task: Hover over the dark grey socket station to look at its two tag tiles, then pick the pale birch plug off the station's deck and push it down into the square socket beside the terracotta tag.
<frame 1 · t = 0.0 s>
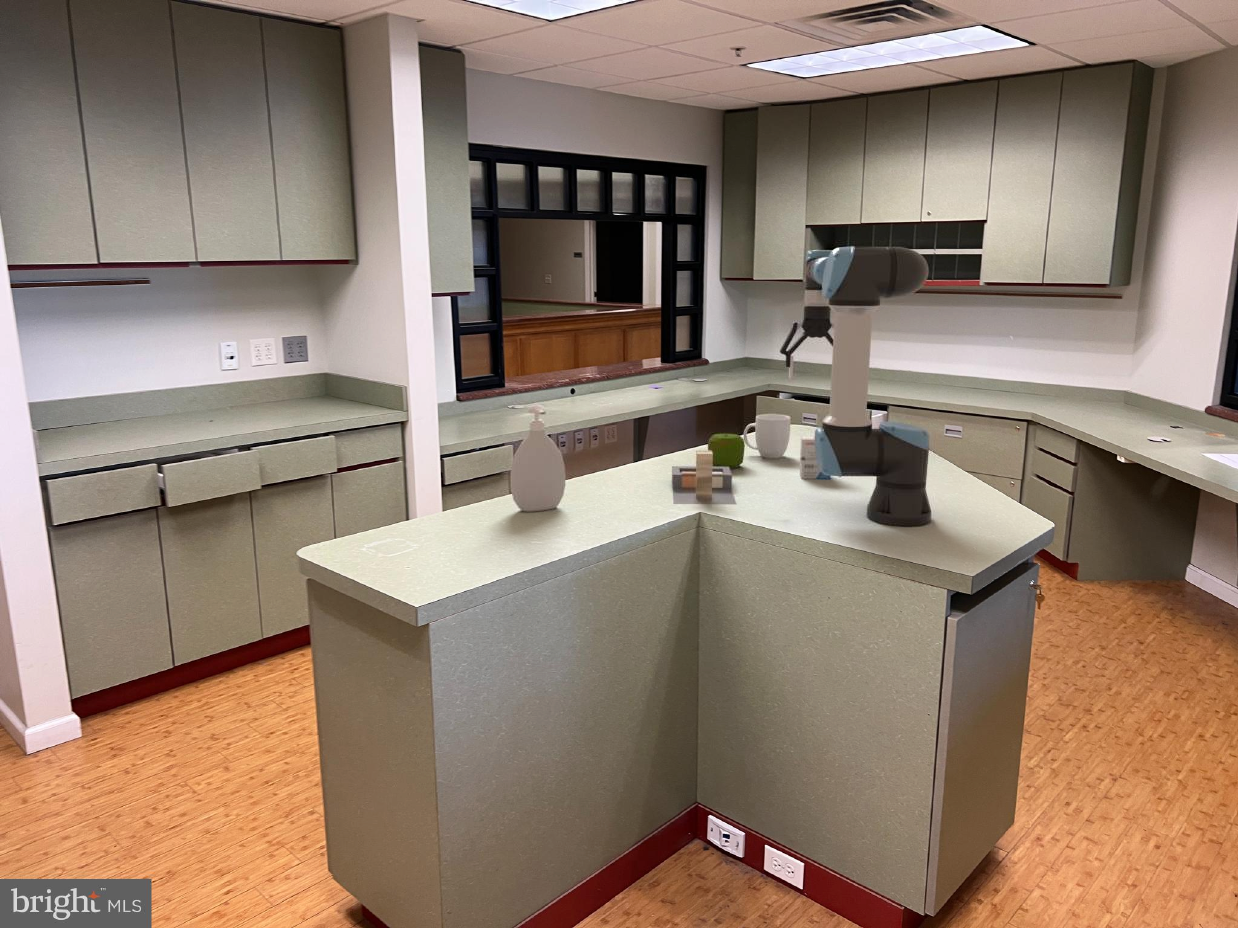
hand: (813, 378, 258), 28 cm above the countertop, fingers open, 13 cm apart
birch plug: (703, 496, 231), point 1 cm above the countertop, touching socket station
ink box: (814, 477, 257), on the countertop
soap bottle: (539, 510, 223), on the countertop
mug: (768, 456, 285), on the countertop
socket station: (702, 495, 237), on the countertop
apple: (725, 467, 271), on the countertop
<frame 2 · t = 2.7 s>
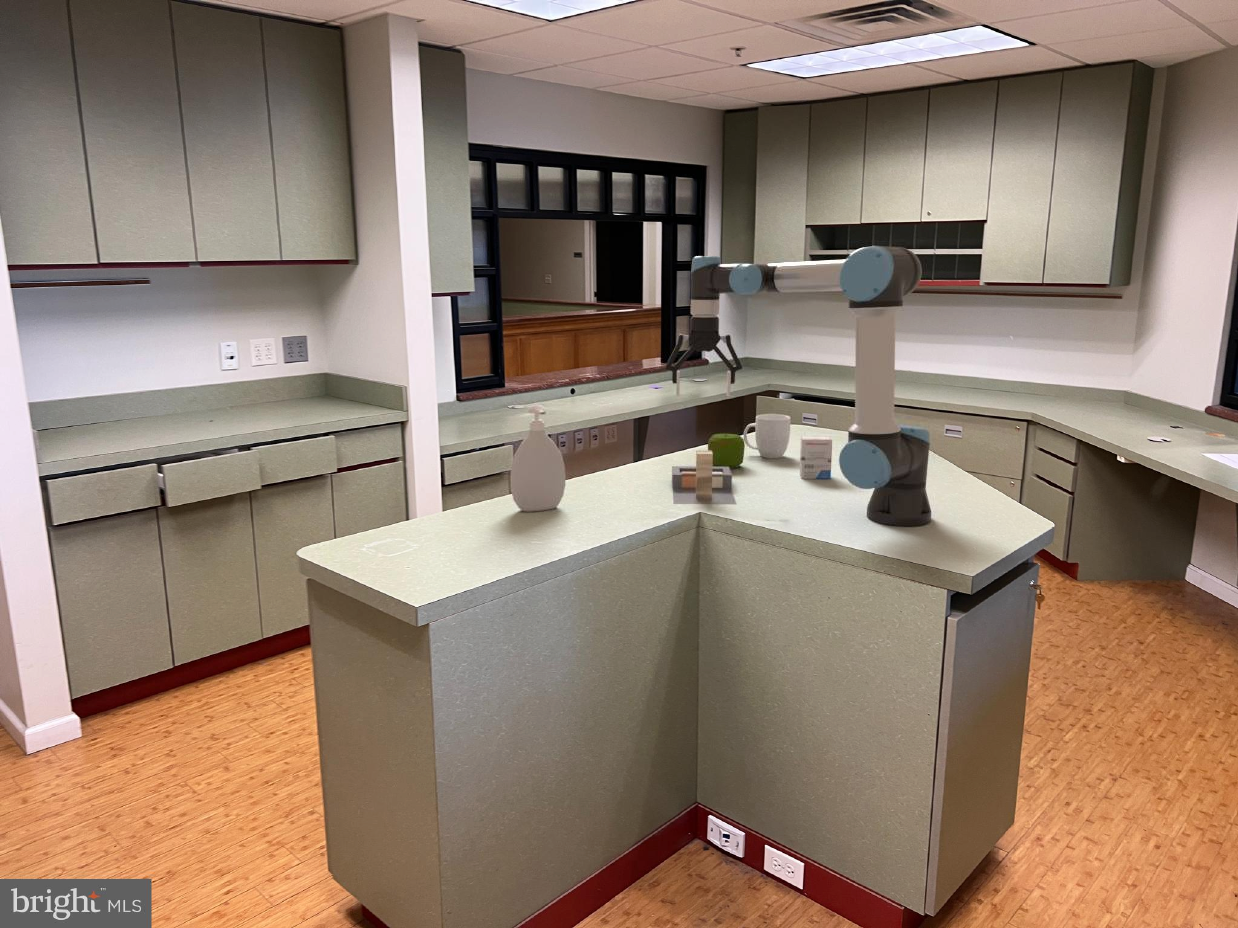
hand: (703, 396, 237), 26 cm above the countertop, fingers open, 13 cm apart
nothing on the countertop moved.
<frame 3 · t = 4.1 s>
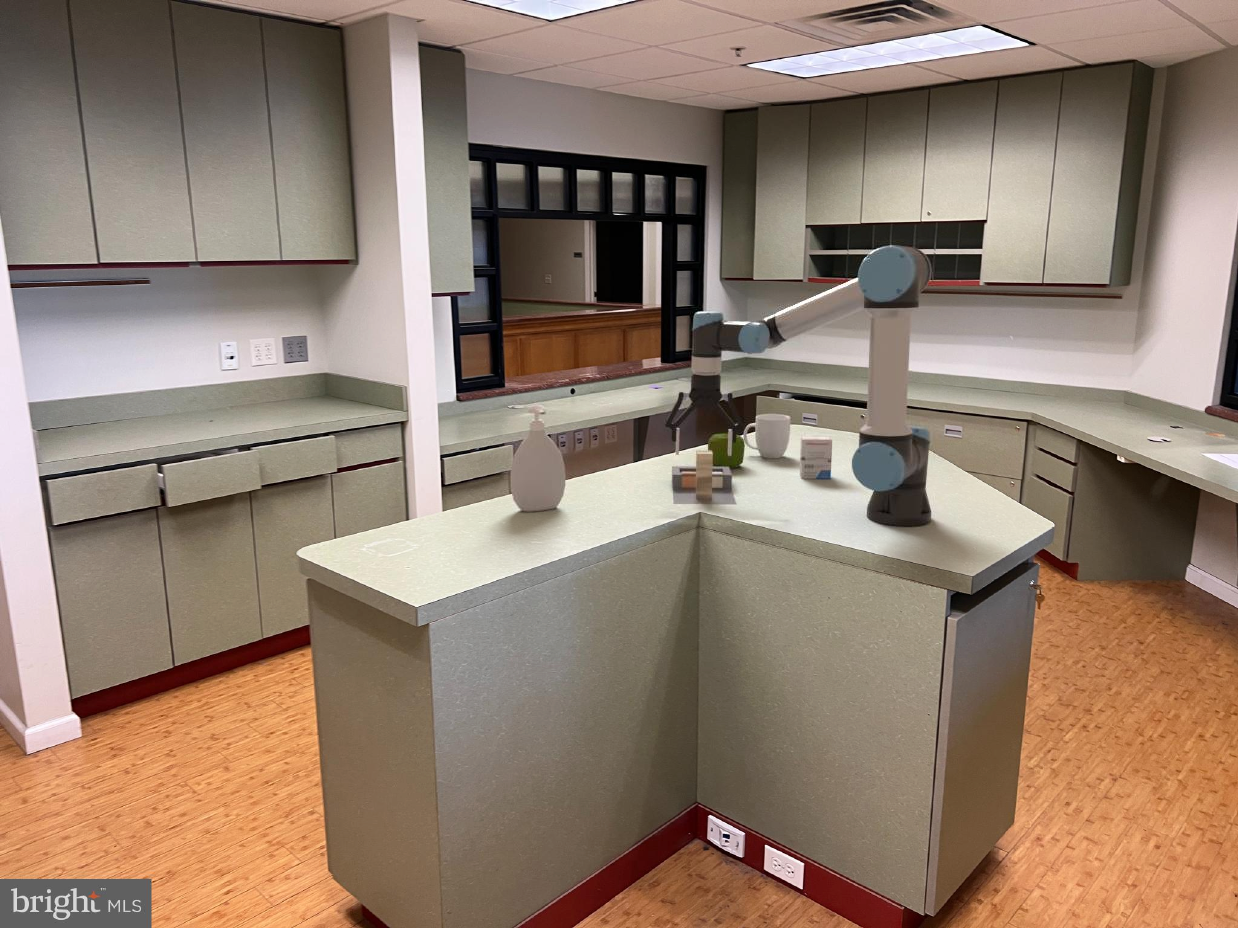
hand: (703, 454, 229), 13 cm above the countertop, fingers open, 13 cm apart
nothing on the countertop moved.
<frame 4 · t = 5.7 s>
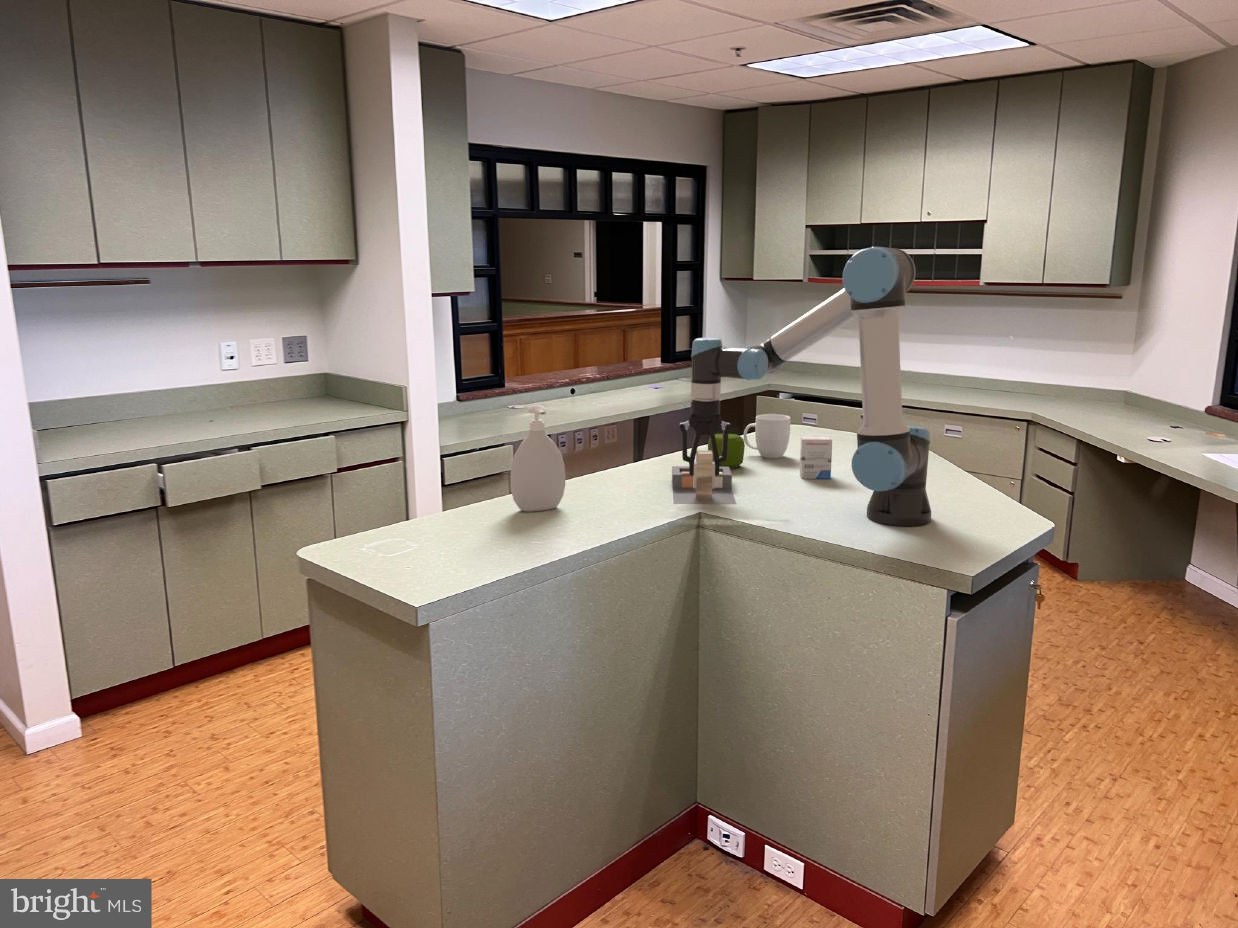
hand: (703, 486, 231), 4 cm above the countertop, fingers closed on birch plug, 4 cm apart
birch plug: (703, 496, 231), point 1 cm above the countertop, touching gripper, socket station
everything else where it was.
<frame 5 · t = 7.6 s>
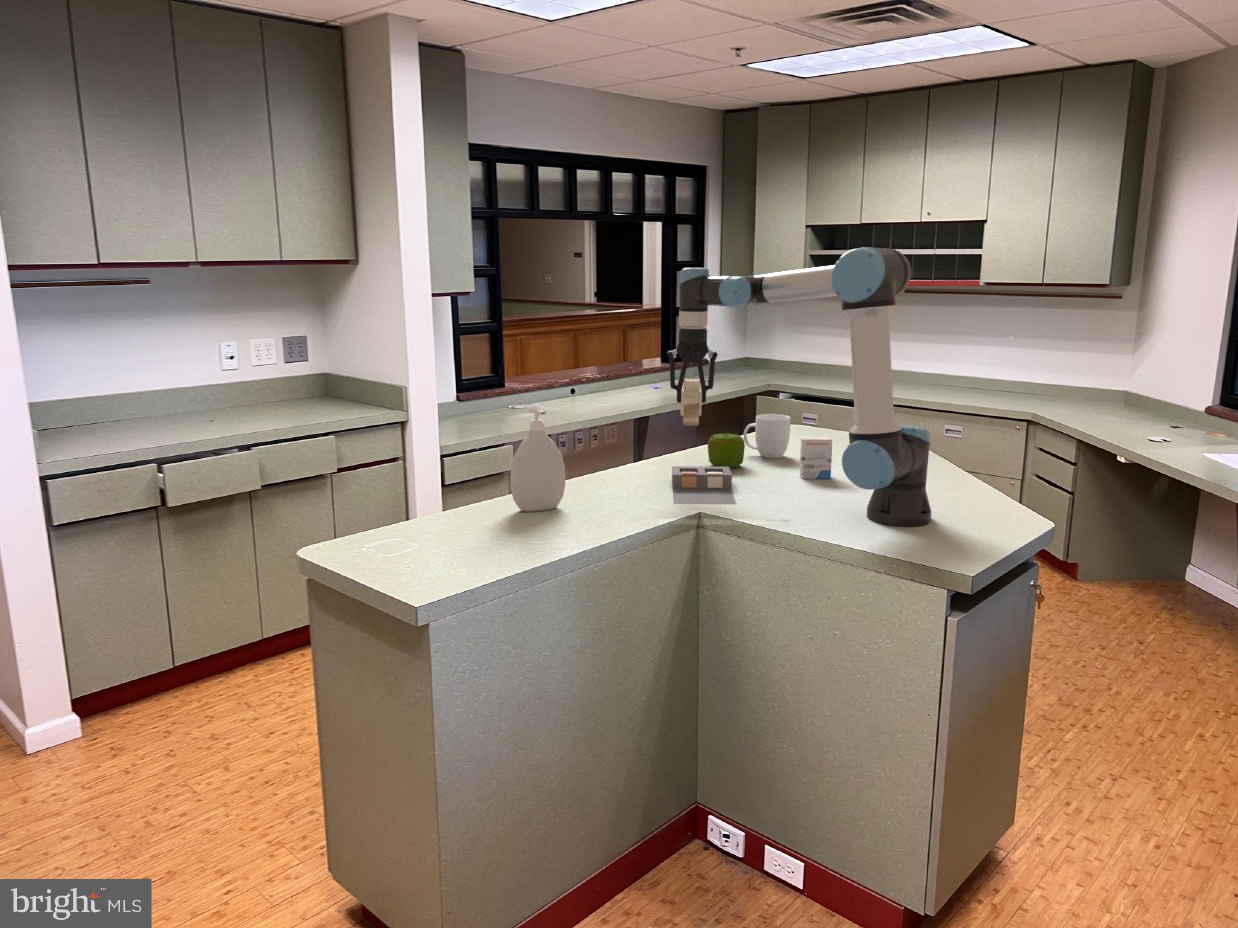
hand: (690, 414, 238), 21 cm above the countertop, fingers closed on birch plug, 4 cm apart
birch plug: (690, 424, 238), point 19 cm above the countertop, touching gripper
everything else where it was.
when the fingers open (6 cm above the countertop, at t = 9.8 s): birch plug drops 2 cm, resting on socket station.
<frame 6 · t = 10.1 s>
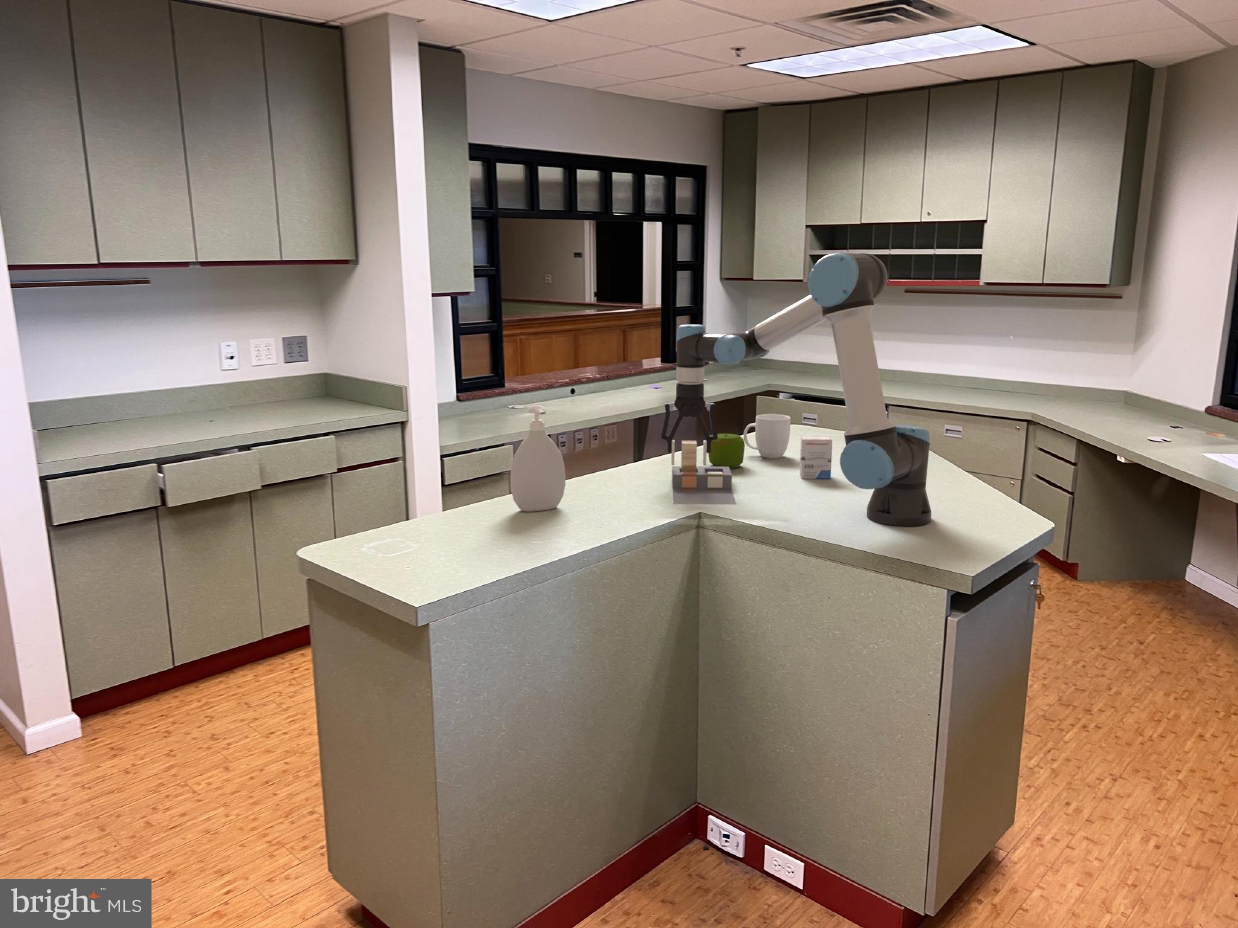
hand: (688, 464, 243), 7 cm above the countertop, fingers open, 8 cm apart
birch plug: (688, 484, 244), point 1 cm above the countertop, touching socket station
everything else where it was.
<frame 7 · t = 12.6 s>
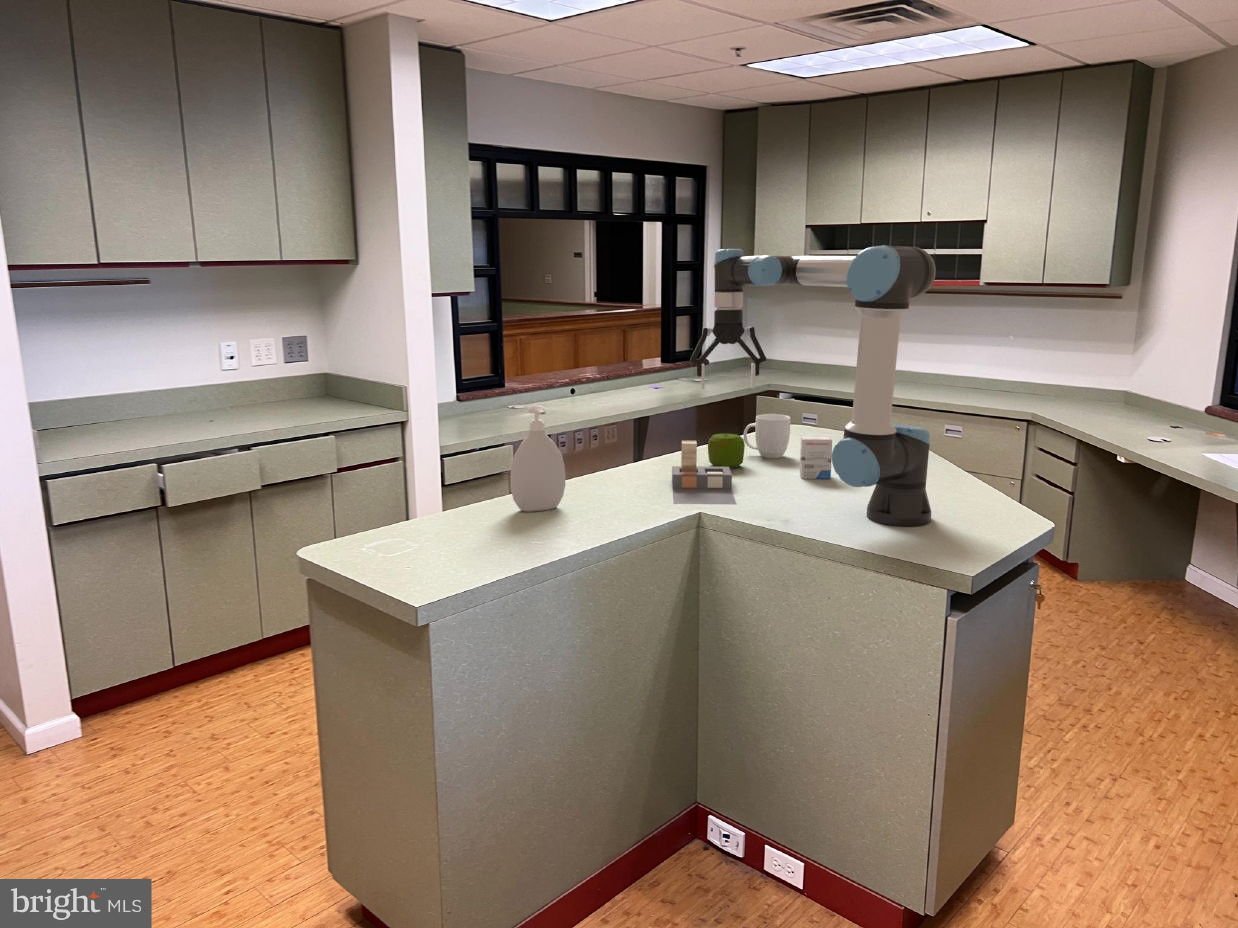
hand: (727, 388, 238), 28 cm above the countertop, fingers open, 13 cm apart
nothing on the countertop moved.
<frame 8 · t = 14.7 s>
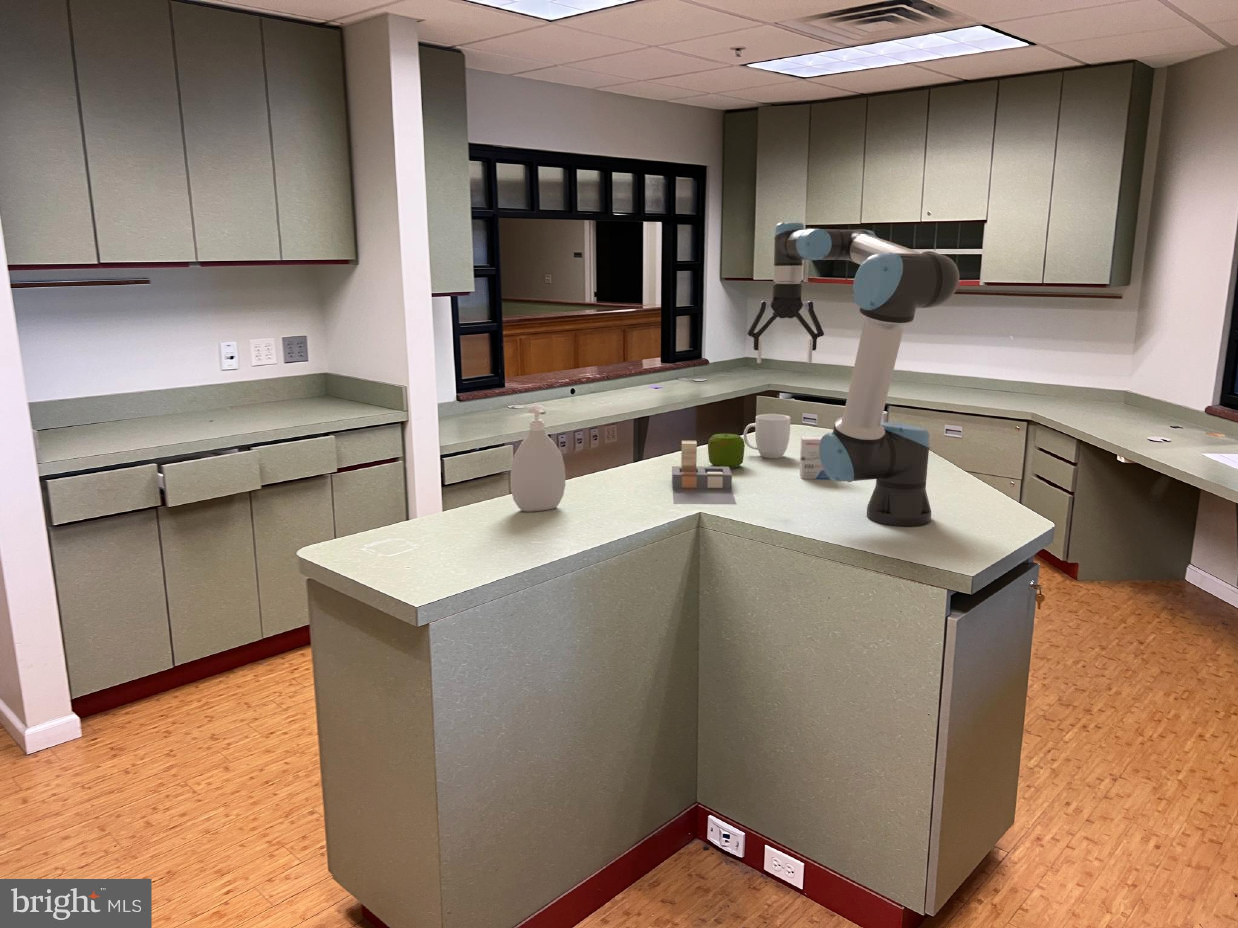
hand: (784, 362, 238), 35 cm above the countertop, fingers open, 13 cm apart
nothing on the countertop moved.
at the end: birch plug 0.0 cm from the target spot on the socket station, point 1.2 cm above the socket station's base; birch plug tilted 0°; the gripper is holding nothing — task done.
